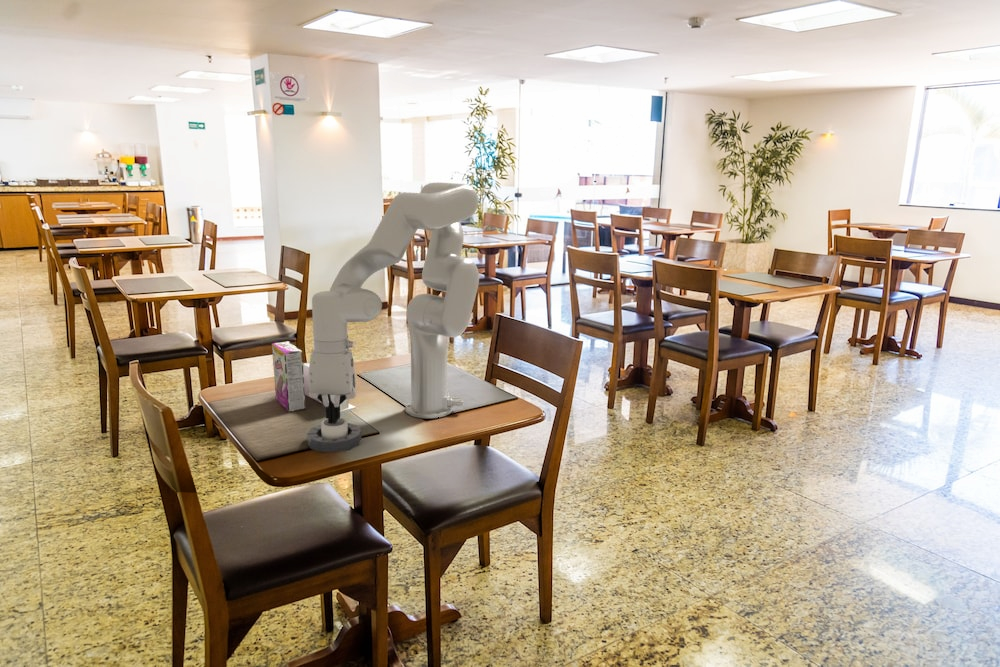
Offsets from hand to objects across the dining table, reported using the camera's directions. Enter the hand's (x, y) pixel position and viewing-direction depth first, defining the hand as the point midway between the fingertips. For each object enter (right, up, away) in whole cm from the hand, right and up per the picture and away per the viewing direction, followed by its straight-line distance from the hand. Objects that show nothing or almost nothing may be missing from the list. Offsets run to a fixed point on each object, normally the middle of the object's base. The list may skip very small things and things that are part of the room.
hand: (333, 421), depth 157 cm
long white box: (-9, +2, +28) cm, 30 cm away
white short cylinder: (0, -5, +1) cm, 5 cm away
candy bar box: (-18, +1, +25) cm, 31 cm away
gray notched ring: (0, -5, +1) cm, 5 cm away
